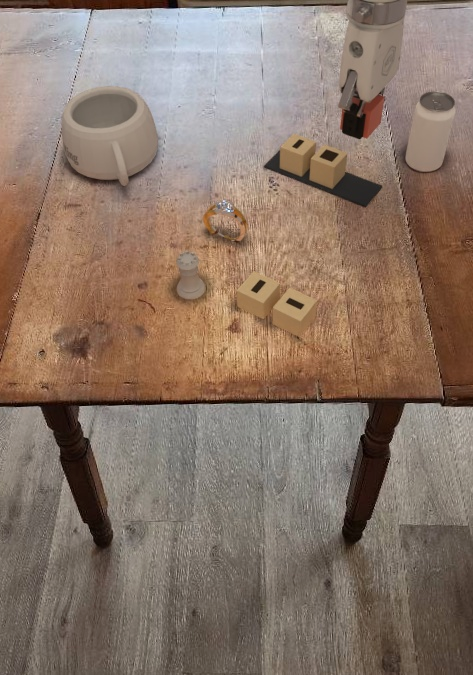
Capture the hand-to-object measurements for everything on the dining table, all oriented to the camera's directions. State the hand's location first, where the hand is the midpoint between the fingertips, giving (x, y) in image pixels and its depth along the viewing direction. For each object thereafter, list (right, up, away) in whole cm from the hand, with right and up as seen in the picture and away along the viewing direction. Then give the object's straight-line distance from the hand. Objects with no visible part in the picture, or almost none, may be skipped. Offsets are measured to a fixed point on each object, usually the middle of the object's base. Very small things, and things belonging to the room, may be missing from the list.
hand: (360, 125), depth 101 cm
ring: (-20, -16, +8) cm, 27 cm away
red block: (0, 0, 0) cm, 0 cm away
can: (+14, -1, +18) cm, 23 cm away
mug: (-40, -1, +21) cm, 45 cm away
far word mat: (-4, -4, +16) cm, 17 cm away
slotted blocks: (-11, -30, -3) cm, 32 cm away
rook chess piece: (-25, -25, +1) cm, 36 cm away
